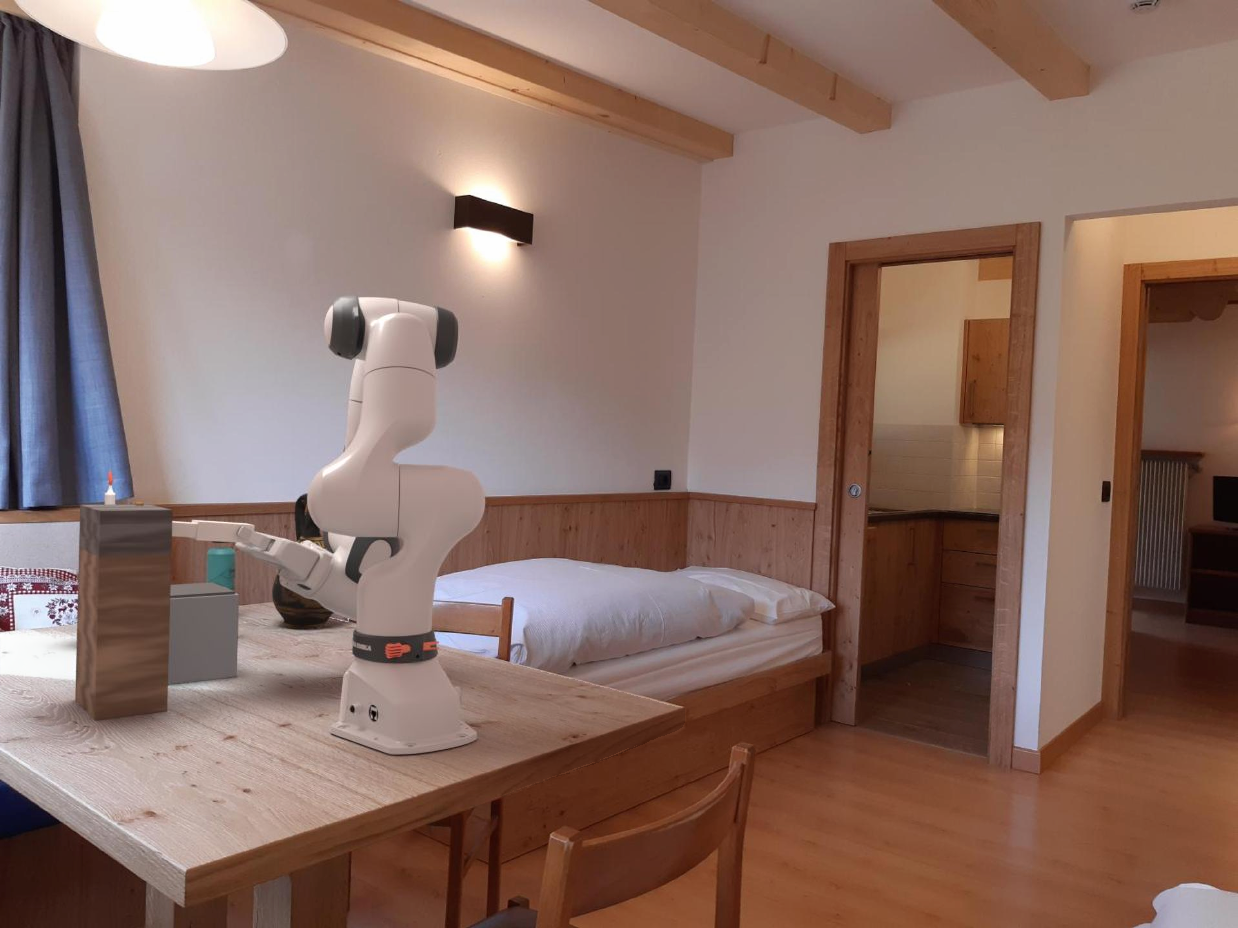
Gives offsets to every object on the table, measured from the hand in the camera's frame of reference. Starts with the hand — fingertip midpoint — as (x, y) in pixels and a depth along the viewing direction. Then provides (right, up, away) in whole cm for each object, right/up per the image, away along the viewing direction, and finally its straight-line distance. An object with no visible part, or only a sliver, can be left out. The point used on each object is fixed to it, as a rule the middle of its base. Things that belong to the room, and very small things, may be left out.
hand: (233, 528), depth 164 cm
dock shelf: (-14, -26, +11) cm, 32 cm away
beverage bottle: (-29, -25, +65) cm, 76 cm away
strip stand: (-14, -27, -10) cm, 32 cm away
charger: (-4, -1, -4) cm, 6 cm away
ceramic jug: (-8, -26, +62) cm, 68 cm away
